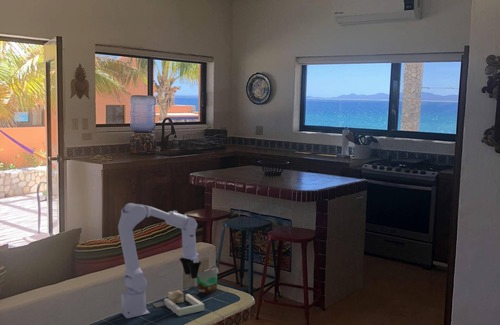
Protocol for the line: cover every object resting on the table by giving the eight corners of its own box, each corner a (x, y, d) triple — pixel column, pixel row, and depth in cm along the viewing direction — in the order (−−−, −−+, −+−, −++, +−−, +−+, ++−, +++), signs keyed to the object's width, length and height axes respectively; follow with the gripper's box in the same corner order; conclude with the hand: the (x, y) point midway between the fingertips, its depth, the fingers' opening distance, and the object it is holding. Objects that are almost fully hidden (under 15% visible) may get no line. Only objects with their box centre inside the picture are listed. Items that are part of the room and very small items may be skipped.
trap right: (190, 300, 228) (190, 300, 228) (185, 297, 232) (185, 296, 232) (200, 298, 230) (199, 297, 230) (195, 295, 235) (195, 294, 235)
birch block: (172, 304, 224) (172, 295, 224) (168, 301, 229) (168, 292, 228) (183, 302, 227) (183, 293, 226) (179, 299, 231) (179, 290, 231)
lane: (178, 316, 210) (178, 309, 209) (164, 304, 224) (164, 298, 224) (204, 310, 215) (204, 304, 215) (189, 299, 229) (188, 293, 229)
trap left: (156, 308, 221) (156, 307, 221) (152, 304, 225) (151, 303, 225) (166, 305, 223) (166, 305, 223) (162, 302, 228) (162, 301, 228)
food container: (207, 296, 233) (205, 273, 232) (196, 293, 237) (195, 271, 236) (225, 288, 243) (224, 266, 242) (215, 286, 246) (213, 264, 246)
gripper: (204, 246, 224) (206, 278, 225) (191, 240, 237) (193, 270, 238) (188, 248, 221) (190, 281, 222) (176, 242, 234) (178, 273, 235)
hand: (191, 276), depth 230 cm, fingers open, 7 cm apart
